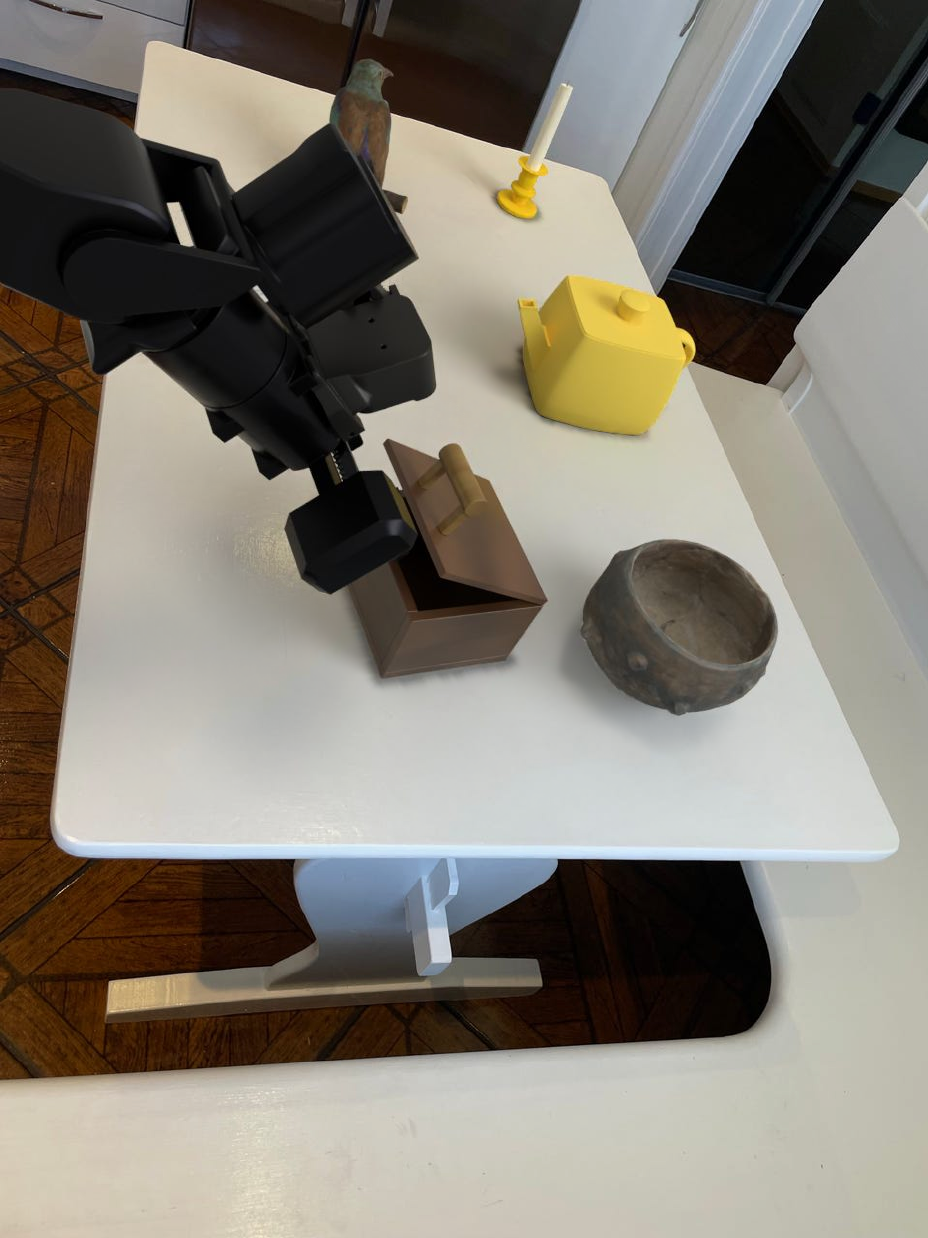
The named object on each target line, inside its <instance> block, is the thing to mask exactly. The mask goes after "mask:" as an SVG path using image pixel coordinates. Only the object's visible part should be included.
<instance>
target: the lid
mask: <svg viewBox="0 0 928 1238" xmlns="http://www.w3.org/2000/svg"><path fill="white" fill-rule="evenodd" d="M382 445H383V448H384V450H385V452H386V455H387V457H388V460H389V461H390V464H391V467H392V469H393V471H394V473H395V475H396V478H397V480H398V483H399V485H400V487H401V490H403V492H404V494H405V497H406V499H407V501H408V504H409V506H410V508H411V511H412V513H413V515H414V518H415V520H416V522H417V525H418V527H419V529H420V532H421V534H422V536H423V539H424V541H425V543H426V546H427V548H428V550H429V553H430V555H431V557H432V560H433V562H434V564H435V567H436V569H437V571H438V574H439V576H440V577H441V578H444V579H448V580H452V581H455V582H459V583H463V584H466V585H470V586H474V587H477V588H481V589H485V590H488V591H492V592H496V593H499V594H503V595H507V596H510V597H514V598H518V599H522V600H525V601H529V602H533V603H536V604H540V605H543V606H544V605H545V604H546V603H547V602H549V599H548V597H547V596H546V593H545V592H544V589H543V587H542V585H541V583H540V580H539V579H538V577H537V574H536V573H535V570H534V568H533V566H532V565H531V563H530V560H529V559H528V556H527V555H526V552H525V550H524V548H523V545H522V544H521V542H520V540H519V538H518V536H517V534H516V532H515V530H514V528H513V525H512V524H511V521H510V519H509V517H508V515H507V514H506V511H505V510H504V507H503V505H502V504H501V501H500V499H499V497H498V495H497V493H496V491H495V489H494V487H493V485H492V483H491V481H490V480H489V479H487V478H485V477H482V476H481V475H478V474H475V473H474V472H473V470H472V468H471V465H470V463H469V461H468V459H467V457H466V455H465V453H464V451H463V449H462V447H461V445H460V444H458V443H456V442H455V443H448V444H446V445H444V446H443V447H442V448H440V449H439V451H438V453H437V454H438V458H436V457H434V456H432V455H429V454H427V453H425V452H422V451H420V450H417V449H415V448H412V447H411V446H409V445H406V444H403V443H401V442H398V441H396V440H393V439H391V438H387V439H386V440H385V441H383V442H382Z"/></svg>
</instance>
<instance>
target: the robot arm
mask: <svg viewBox="0 0 928 1238" xmlns="http://www.w3.org/2000/svg"><path fill="white" fill-rule="evenodd" d="M382 189H383V187H382V188H381V186H380V185H379V183H378V181H377V179H376V178H375V176H374V174H373V173H372V171H371V169H370V168H369V166H368V164H367V162H366V161H365V159H364V158H363V156H362V154H361V153H359V154H358V155H356V153H355V152H354V150H353V149H352V147H351V146H350V144H349V143H348V141H347V140H345V139H344V138H343V136H342V134H341V133H340V131H339V130H338V128H337V126H336V125H335V124H332V123H329V122H328V123H327V124H325V125H323V126H322V127H321V128H319V129H318V130H316V131H315V132H313V133H312V134H311V135H309V136H308V137H307V138H306V139H304V140H303V141H302V143H301V144H299V146H298V147H297V148H296V149H295V150H294V151H293V152H292V153H290V154H289V155H288V156H287V157H285V158H283V159H282V160H281V161H279V162H278V163H276V164H275V165H273V166H272V167H270V168H268V169H267V170H266V171H264V172H263V173H261V174H260V175H258V176H257V177H255V178H254V179H253V180H251V181H250V182H248V183H247V184H245V185H244V186H242V187H241V188H240V189H238V190H237V191H235V190H234V188H233V187H232V186H231V185H230V183H229V182H228V180H227V177H226V174H225V172H224V169H223V167H222V165H221V162H220V160H218V159H217V158H214V157H212V156H207V155H204V154H199V153H196V152H193V151H189V150H186V149H182V148H179V147H175V146H171V145H168V144H164V143H162V142H161V143H160V142H157V141H154V140H150V139H146V138H143V137H140V136H139V135H138V134H137V132H135V131H134V129H133V128H132V127H130V126H129V125H128V124H127V123H125V122H123V121H122V120H120V119H118V118H117V117H116V116H114V115H111V114H109V113H106V112H103V111H101V110H98V109H95V108H92V107H88V106H84V105H81V104H76V103H73V102H71V101H70V102H69V101H66V100H62V99H59V98H55V97H52V96H48V95H44V94H40V93H37V92H34V91H30V90H25V89H22V88H15V87H13V88H12V87H11V88H9V87H7V88H3V87H2V88H0V285H1V286H3V287H5V288H7V289H9V290H12V291H14V292H16V293H18V294H21V295H23V296H25V297H28V298H29V299H32V300H34V301H37V302H38V303H40V304H43V305H45V306H47V307H50V308H51V309H54V310H56V311H58V312H61V313H63V314H64V315H67V316H70V317H72V318H75V319H78V320H79V324H80V327H81V331H82V336H83V340H84V343H85V348H86V352H87V357H88V360H89V364H90V369H91V371H92V373H94V374H95V375H98V376H105V375H108V374H109V373H110V372H112V371H113V370H115V369H116V368H119V366H121V365H123V364H124V363H126V362H127V361H129V360H131V359H133V357H135V356H136V355H139V354H140V353H141V354H142V355H144V356H145V357H146V358H147V359H148V360H149V361H151V362H152V363H153V364H154V365H155V366H156V367H158V368H159V369H160V370H161V371H162V372H163V373H165V374H166V375H167V376H168V377H169V378H170V379H172V381H174V382H175V383H176V384H177V385H178V386H180V388H182V389H183V390H184V391H185V392H187V393H188V395H190V396H191V398H194V399H195V400H196V401H197V402H198V403H199V404H200V405H201V406H203V408H204V410H205V413H206V417H207V419H208V423H209V427H210V429H211V433H212V434H213V436H215V437H216V438H218V439H219V440H220V441H221V442H222V443H223V444H226V443H227V442H229V441H231V440H232V439H234V438H235V437H238V438H240V439H241V440H242V441H243V442H244V443H245V444H246V445H247V446H249V447H250V450H251V453H252V456H253V459H254V462H255V464H256V467H257V470H258V473H259V474H261V476H263V477H264V478H265V479H266V480H268V481H269V482H270V481H272V480H273V479H275V478H276V477H278V476H280V475H281V474H283V473H284V472H286V471H289V470H290V471H292V472H299V471H303V470H306V469H309V472H310V475H311V477H312V481H313V484H314V486H315V489H316V491H317V494H318V495H317V496H314V497H313V498H312V499H310V500H308V501H307V502H304V503H303V504H302V505H300V506H298V507H297V508H295V509H293V510H292V511H290V512H289V513H288V515H287V518H286V521H285V524H284V528H283V530H284V533H285V536H286V539H287V541H288V545H289V547H290V550H291V553H292V557H293V560H294V562H295V565H296V568H297V571H298V574H299V577H300V580H302V581H303V582H305V583H306V584H307V585H309V586H310V587H312V588H313V589H315V590H316V591H317V592H319V593H322V594H326V595H330V596H331V595H333V594H335V593H337V592H338V591H340V590H342V589H344V588H345V587H348V586H347V585H349V584H351V583H352V582H354V581H356V580H358V579H359V578H361V577H363V576H365V575H366V574H368V573H370V572H372V571H373V570H375V569H377V568H378V567H380V566H382V565H384V564H385V563H387V562H396V561H398V560H400V559H402V558H403V557H405V556H407V555H408V554H409V550H410V549H412V548H413V545H414V543H415V540H416V538H417V536H418V533H417V531H416V529H415V526H414V524H413V522H412V519H411V516H410V514H409V512H408V509H407V507H406V505H405V502H404V500H403V498H402V495H401V493H400V491H399V490H400V489H399V487H398V486H396V485H395V483H394V481H393V480H392V479H391V477H389V475H387V474H386V472H385V471H384V470H382V469H374V470H360V469H359V466H358V464H357V462H356V459H355V456H354V454H353V452H354V451H355V450H357V449H359V448H360V447H362V446H363V445H364V440H363V437H362V435H361V434H362V433H364V432H365V431H366V428H365V426H364V423H363V421H362V419H361V417H360V416H359V415H358V414H361V415H370V414H374V413H378V412H380V411H383V410H386V409H389V408H392V407H395V406H399V405H402V404H405V403H408V402H411V401H414V402H419V401H423V400H426V399H427V398H429V397H431V396H432V395H433V394H434V393H435V391H436V389H437V377H436V369H435V361H434V351H433V342H432V339H431V337H430V334H429V332H428V331H427V328H426V326H425V324H424V323H423V320H422V318H421V316H420V315H419V312H418V310H417V308H416V306H415V304H414V302H413V300H412V299H411V298H409V297H408V296H407V295H404V294H401V293H400V290H399V289H398V287H397V284H396V283H394V284H391V285H390V284H389V285H388V290H387V289H385V287H383V284H382V283H383V282H385V281H387V280H388V279H390V278H392V277H393V276H394V275H396V274H398V273H399V272H400V271H402V270H404V269H405V268H407V267H409V266H410V265H412V264H413V263H415V262H417V261H418V260H419V259H420V257H419V254H418V252H417V250H416V248H415V245H414V244H413V242H412V240H411V238H410V236H409V234H408V233H407V231H406V228H405V227H404V226H403V223H402V222H401V220H400V218H399V215H398V213H397V212H395V211H394V209H393V207H392V205H391V204H390V202H389V200H388V198H387V197H386V195H385V193H384V191H383V190H382ZM174 203H175V204H176V203H178V205H179V207H180V210H181V213H182V216H183V219H184V222H185V225H186V227H187V230H188V234H189V236H190V239H191V241H192V245H190V246H189V245H185V244H182V243H181V241H180V238H179V235H178V232H177V229H176V226H175V223H174V219H173V217H172V214H171V211H170V208H169V205H168V204H174ZM255 286H258V287H259V289H260V290H261V291H262V293H263V294H264V295H265V297H266V298H267V299H268V301H267V302H264V300H263V299H262V298H261V297H260V296H259V295H258V294H257V292H256V291H255V290H254V289H253V288H254V287H255Z"/></svg>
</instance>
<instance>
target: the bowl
mask: <svg viewBox="0 0 928 1238" xmlns="http://www.w3.org/2000/svg"><path fill="white" fill-rule="evenodd" d="M777 617H778V616H777V614H776V610H775V606H774V604H773V603H772V600H771V598H770V596H769V594H768V593H767V592H766V591H764V590H763V588H762V587H761V586H760V584H759V583H758V581H757V580H756V578H755V577H754V576H753V574H752V573H751V572H749V571H748V570H747V569H746V568H745V567H743V565H741V564H740V563H738V562H737V561H735V560H734V559H732V558H731V557H729V556H728V555H725V554H724V553H722V552H721V551H719V550H717V549H714V548H712V547H710V546H707V545H705V544H702V543H699V542H695V541H691V540H684V539H676V538H675V539H674V538H672V539H671V538H670V539H668V538H662V539H655V540H651V541H648V542H644V543H642V544H639V545H637V546H634V547H632V548H629V549H625V550H624V549H623V550H619V551H617V552H615V553H614V554H613V556H612V558H611V559H610V562H609V564H607V566H606V567H605V569H604V570H603V572H602V573H601V575H599V577H598V578H597V580H596V581H595V583H594V584H593V586H592V587H591V588H590V590H589V593H588V594H587V596H586V598H585V601H584V604H583V607H582V615H581V618H582V619H581V620H582V624H581V626H580V628H579V636H580V637H581V638H582V639H583V640H584V641H585V643H586V645H587V648H588V650H589V652H590V654H591V656H592V657H593V659H594V661H595V663H596V664H597V666H598V667H599V668H600V670H601V671H602V672H603V674H604V675H605V676H606V678H607V679H608V680H609V682H611V683H612V685H613V686H614V687H615V688H616V689H617V690H619V691H620V692H622V693H624V694H625V695H627V696H628V697H630V698H631V699H632V698H633V699H634V700H636V701H637V702H639V703H642V704H643V705H645V706H650V707H652V708H656V709H660V710H666V711H667V712H669V713H670V714H672V715H675V716H677V717H680V716H683V715H686V714H687V713H699V712H706V711H711V710H714V709H716V708H717V709H718V708H721V707H725V706H728V705H730V704H734V702H737V701H739V700H741V699H742V698H744V697H745V696H746V695H747V694H748V693H750V691H752V689H754V687H756V685H757V684H758V683H759V681H760V679H762V677H764V676H765V675H766V673H767V666H768V664H769V662H770V659H771V657H772V654H773V652H774V650H775V647H776V644H777V639H778V636H779V635H778V634H779V623H778V622H779V621H778V618H777Z"/></svg>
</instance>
